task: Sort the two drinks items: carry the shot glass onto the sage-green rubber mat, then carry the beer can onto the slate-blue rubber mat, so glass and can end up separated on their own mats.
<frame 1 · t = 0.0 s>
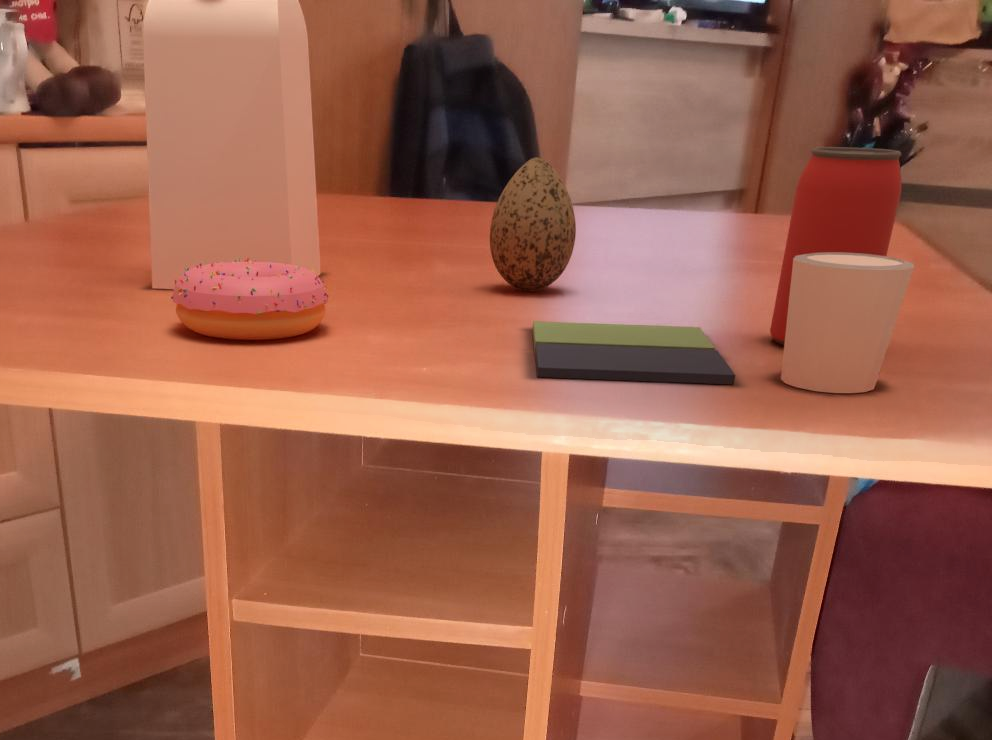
decorative egg: (528, 293, 98), on the table
beer can: (815, 347, 81), on the table
shot glass: (826, 385, 71), on the table
sage mat: (619, 342, 80), on the table
milk: (240, 283, 100), on the table
slate mat: (629, 368, 74), on the table
doughnut: (252, 332, 82), on the table
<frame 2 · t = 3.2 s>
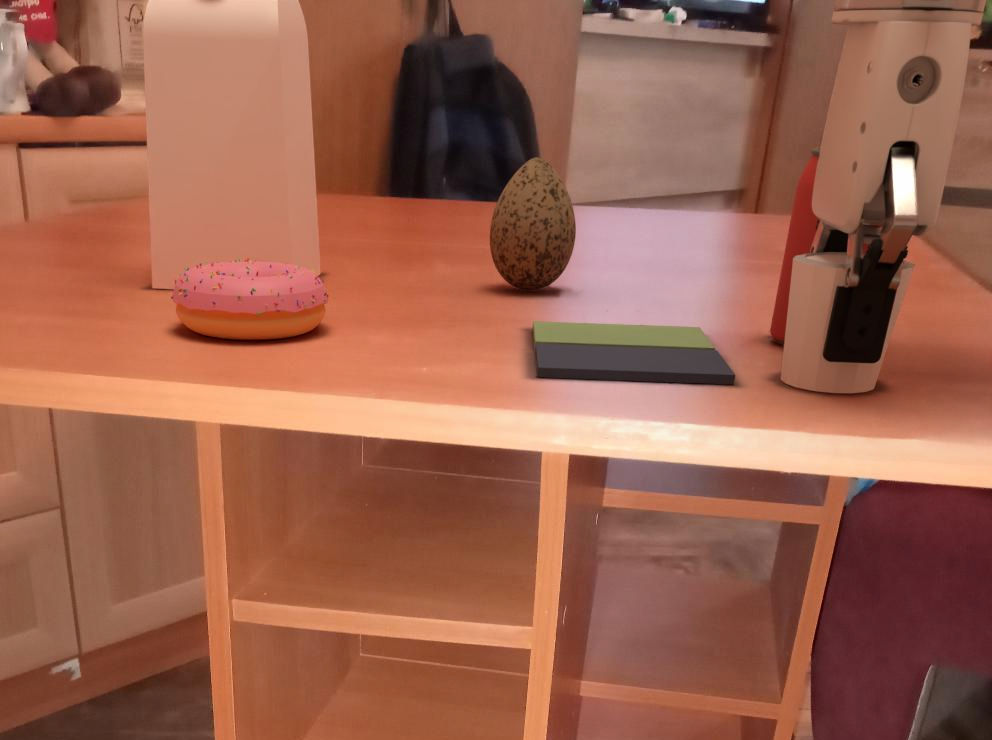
hand: (834, 345, 70), 2 cm above the table, tool pointing down, fingers closed on shot glass, 6 cm apart
shot glass: (826, 385, 71), on the table, touching gripper
everything else where it was.
when the fingers open (3 cm above the table, at t = 10.2 s): shot glass stays where it is, resting on sage mat.
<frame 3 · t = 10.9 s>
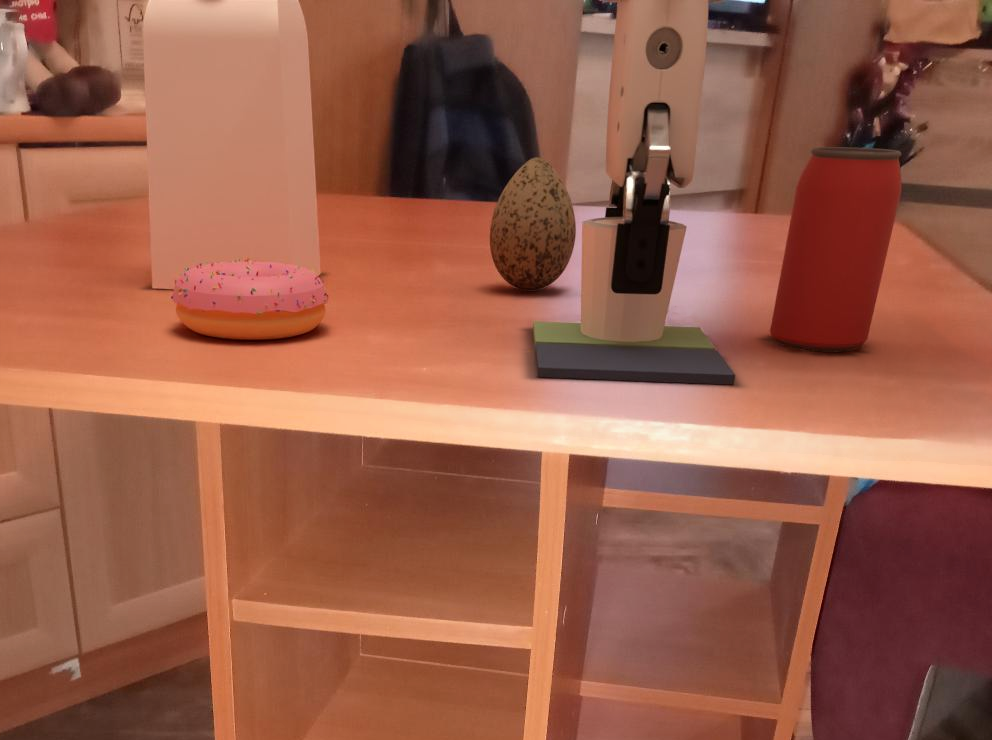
hand: (628, 281, 78), 4 cm above the table, tool pointing down, fingers open, 9 cm apart
shot glass: (620, 336, 80), resting on sage mat
everything else where it was.
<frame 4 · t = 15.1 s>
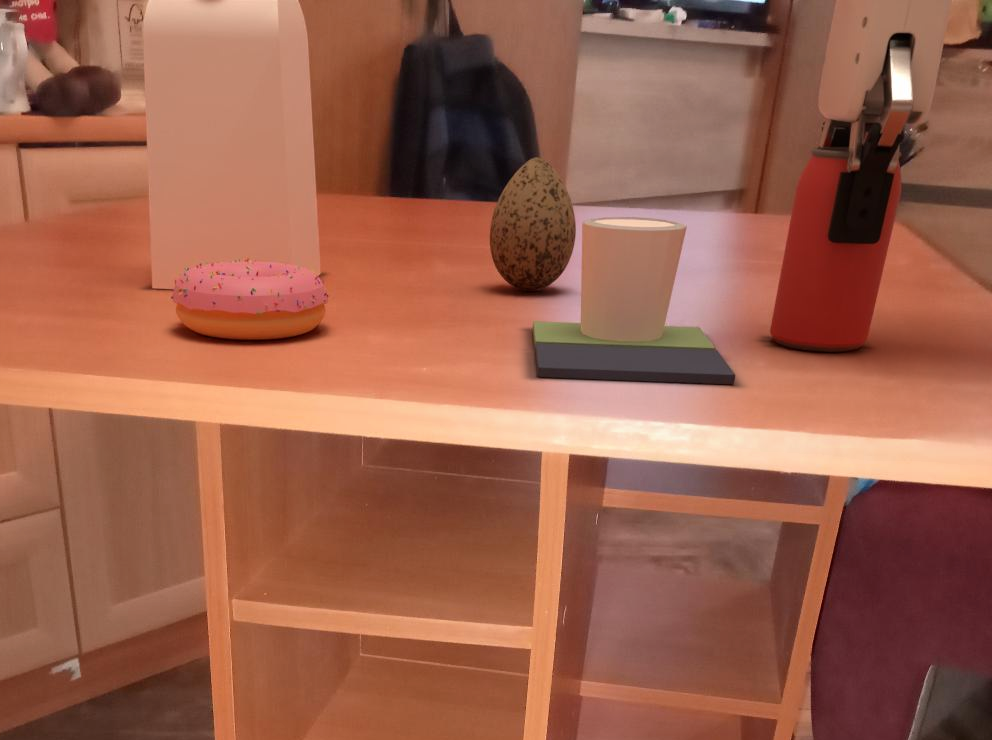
hand: (839, 233, 77), 7 cm above the table, tool pointing down, fingers closed on beer can, 6 cm apart
beer can: (815, 347, 81), on the table, touching gripper
everything else where it was.
when the fingers open (8 cm above the table, at t = 22.2 s): beer can stays where it is, resting on slate mat.
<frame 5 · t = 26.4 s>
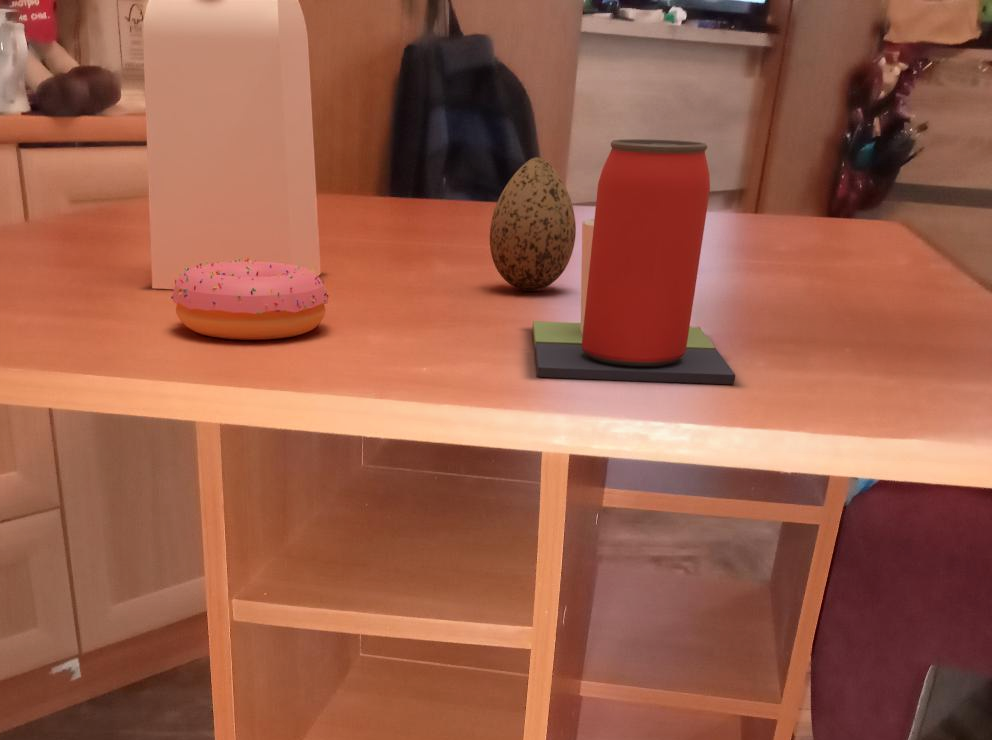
beer can: (631, 361, 73), resting on slate mat
everything else where it was.
at the end: shot glass inside the target area on the sage mat (0.0 cm from its centre), point 0.4 cm above the sage mat's base; beer can inside the target area on the slate mat (0.1 cm from its centre), point 0.4 cm above the slate mat's base; beer can tilted 0° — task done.
